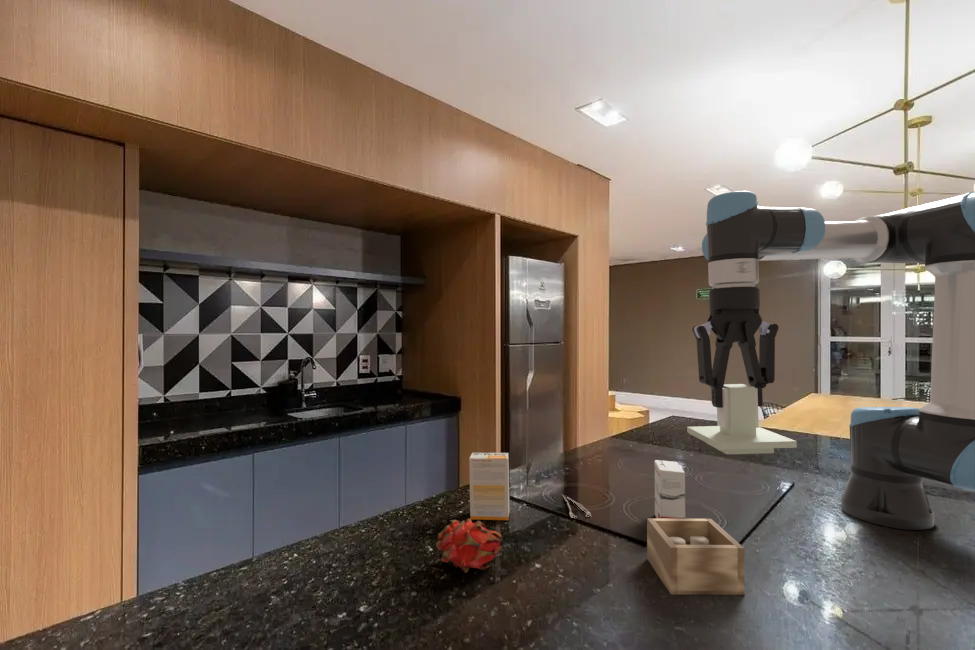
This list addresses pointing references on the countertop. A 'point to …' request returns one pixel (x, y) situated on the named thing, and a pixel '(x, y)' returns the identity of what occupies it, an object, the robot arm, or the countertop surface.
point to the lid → (741, 427)
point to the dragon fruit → (469, 544)
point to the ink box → (669, 490)
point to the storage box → (695, 557)
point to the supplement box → (489, 486)
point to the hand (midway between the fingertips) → (737, 426)
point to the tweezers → (578, 506)
